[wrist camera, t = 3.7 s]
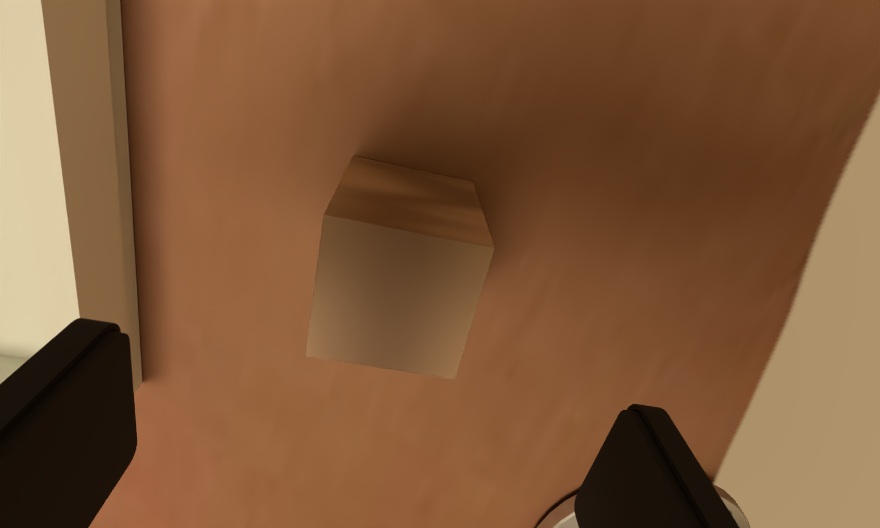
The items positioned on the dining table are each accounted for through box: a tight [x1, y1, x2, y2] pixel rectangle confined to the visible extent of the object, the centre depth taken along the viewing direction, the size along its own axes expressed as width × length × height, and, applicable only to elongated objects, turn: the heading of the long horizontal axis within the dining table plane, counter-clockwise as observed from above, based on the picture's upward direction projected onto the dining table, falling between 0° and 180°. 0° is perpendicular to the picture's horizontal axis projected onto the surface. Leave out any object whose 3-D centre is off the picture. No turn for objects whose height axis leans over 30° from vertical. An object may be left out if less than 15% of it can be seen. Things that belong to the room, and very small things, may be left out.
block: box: [305, 156, 495, 379], centre depth 16 cm, size 4×4×6 cm
